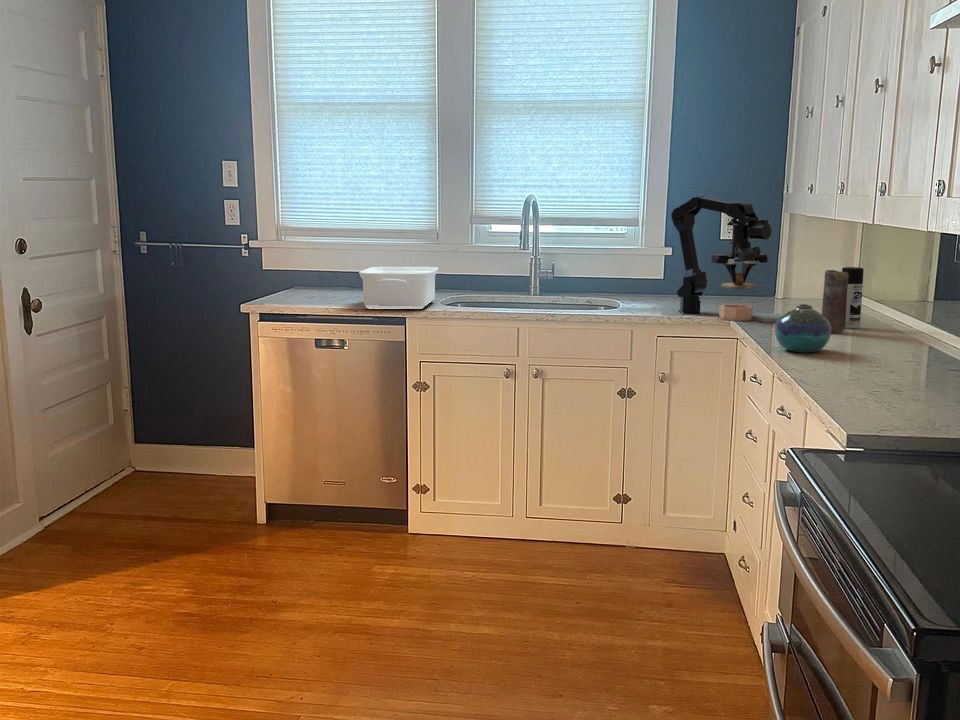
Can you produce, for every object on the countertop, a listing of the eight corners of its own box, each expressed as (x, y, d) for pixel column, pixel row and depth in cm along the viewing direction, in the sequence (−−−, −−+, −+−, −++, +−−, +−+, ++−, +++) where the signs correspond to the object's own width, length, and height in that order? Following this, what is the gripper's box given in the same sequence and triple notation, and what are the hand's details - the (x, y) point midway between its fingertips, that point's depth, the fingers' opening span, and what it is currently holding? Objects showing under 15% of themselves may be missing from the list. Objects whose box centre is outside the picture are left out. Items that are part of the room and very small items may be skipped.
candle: (826, 329, 293) (831, 269, 289) (848, 332, 287) (853, 270, 284) (816, 332, 287) (820, 270, 283) (838, 335, 282) (843, 272, 278)
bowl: (727, 321, 312) (727, 308, 311) (715, 316, 322) (716, 304, 321) (756, 320, 313) (756, 307, 312) (743, 316, 323) (744, 304, 322)
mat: (764, 322, 309) (764, 319, 309) (748, 316, 322) (749, 314, 321) (799, 321, 310) (800, 318, 310) (783, 316, 323) (783, 313, 323)
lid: (729, 288, 309) (729, 275, 308) (716, 285, 320) (717, 272, 319) (760, 288, 310) (761, 274, 309) (747, 284, 321) (747, 271, 320)
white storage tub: (375, 300, 375) (374, 265, 372) (442, 301, 371) (441, 266, 368) (354, 312, 342) (353, 273, 339) (427, 312, 338) (427, 274, 335)
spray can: (850, 329, 292) (854, 269, 288) (833, 327, 298) (837, 267, 294) (864, 328, 295) (868, 268, 291) (847, 325, 301) (851, 266, 297)
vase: (841, 354, 251) (845, 307, 249) (794, 357, 247) (798, 310, 244) (807, 344, 266) (810, 300, 263) (762, 347, 261) (765, 303, 259)
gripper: (723, 240, 303) (721, 286, 306) (776, 239, 305) (773, 285, 308) (711, 238, 314) (709, 282, 317) (762, 237, 316) (760, 281, 319)
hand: (738, 283), depth 315 cm, fingers closed on lid, 3 cm apart
